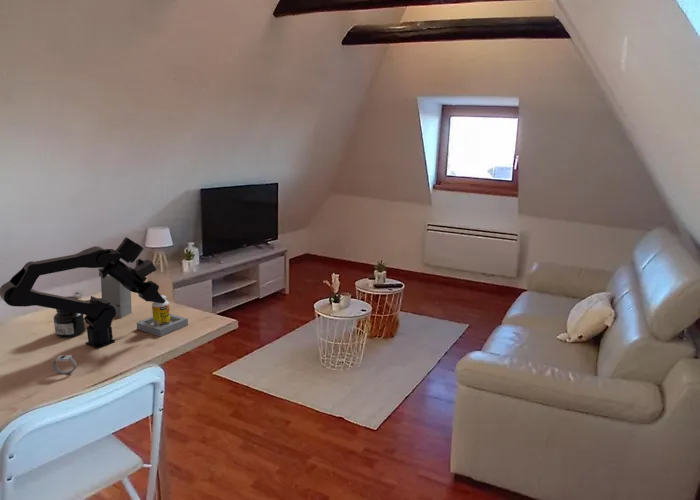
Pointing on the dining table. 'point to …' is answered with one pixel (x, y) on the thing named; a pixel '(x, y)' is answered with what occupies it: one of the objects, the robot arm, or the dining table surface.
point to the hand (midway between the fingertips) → (158, 298)
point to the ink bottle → (68, 323)
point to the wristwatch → (64, 358)
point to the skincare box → (116, 296)
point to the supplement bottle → (161, 313)
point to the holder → (175, 324)
